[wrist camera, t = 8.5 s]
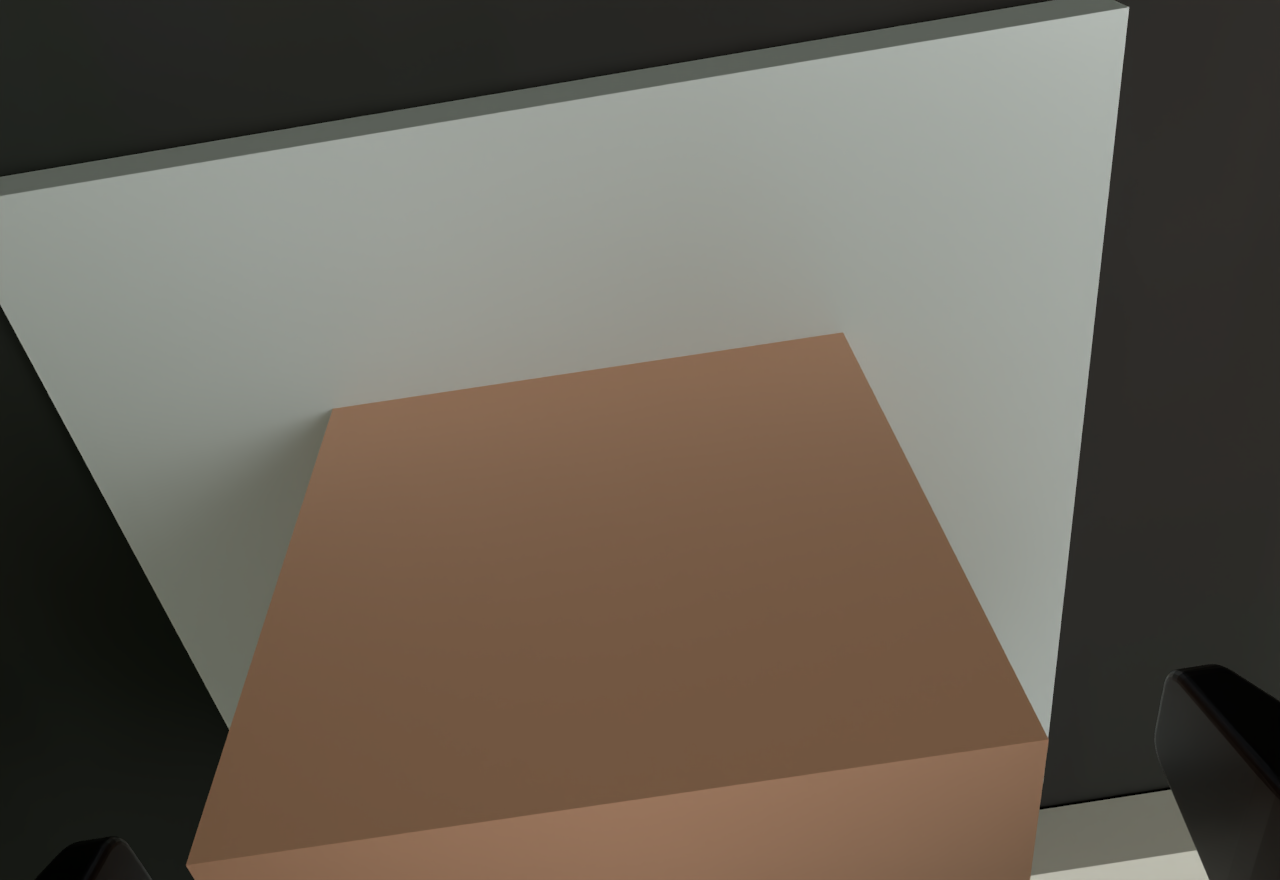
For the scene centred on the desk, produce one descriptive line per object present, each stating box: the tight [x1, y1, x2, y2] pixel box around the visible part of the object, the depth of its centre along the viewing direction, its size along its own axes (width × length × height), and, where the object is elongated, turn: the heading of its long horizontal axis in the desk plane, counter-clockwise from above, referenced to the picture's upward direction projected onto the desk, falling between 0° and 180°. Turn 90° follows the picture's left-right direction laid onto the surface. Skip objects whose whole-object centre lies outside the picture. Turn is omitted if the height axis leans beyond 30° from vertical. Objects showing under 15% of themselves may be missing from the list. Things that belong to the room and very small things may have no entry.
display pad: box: [0, 0, 1129, 780], centre depth 12 cm, size 10×10×1 cm
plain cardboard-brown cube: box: [186, 332, 1049, 880], centre depth 10 cm, size 5×5×5 cm
